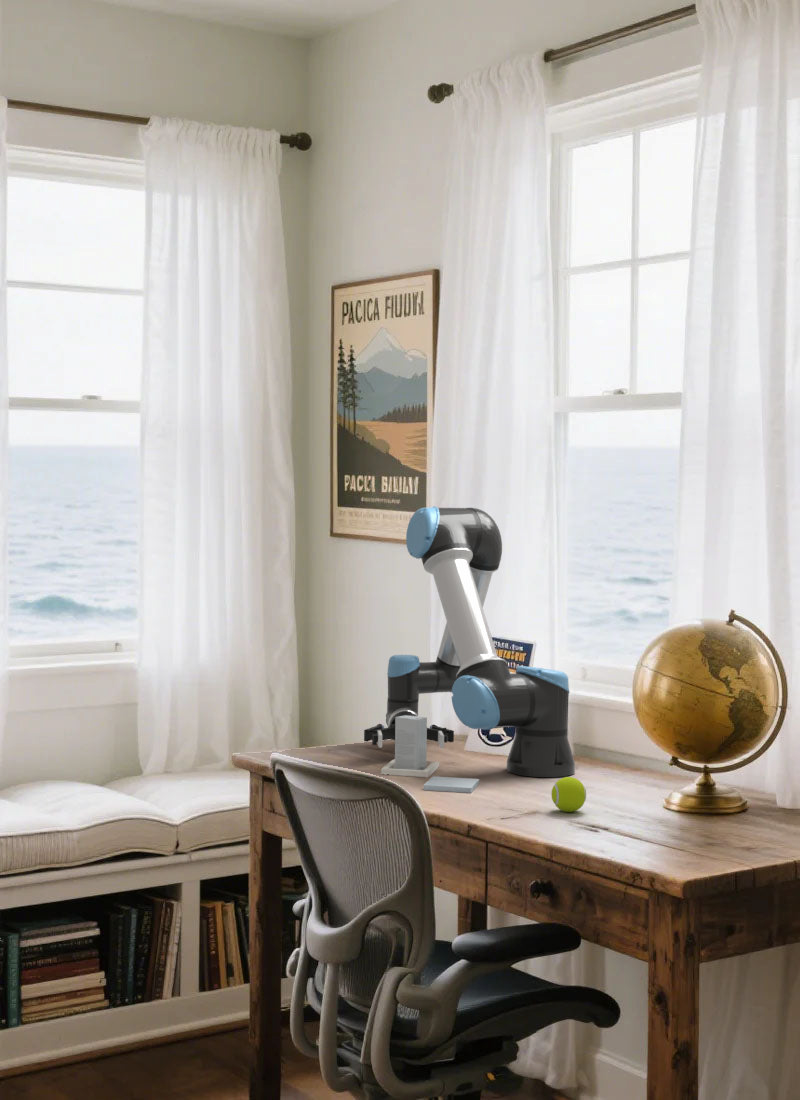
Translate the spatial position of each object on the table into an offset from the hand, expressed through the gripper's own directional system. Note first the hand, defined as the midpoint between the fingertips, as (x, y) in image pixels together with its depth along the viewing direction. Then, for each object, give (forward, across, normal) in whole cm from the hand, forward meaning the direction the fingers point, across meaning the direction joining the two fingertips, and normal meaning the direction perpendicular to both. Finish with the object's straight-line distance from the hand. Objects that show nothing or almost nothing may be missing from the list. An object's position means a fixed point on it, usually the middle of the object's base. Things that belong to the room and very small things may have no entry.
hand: (411, 741), depth 307 cm
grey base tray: (-3, 0, -7) cm, 7 cm away
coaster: (+15, -8, -7) cm, 18 cm away
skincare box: (-3, 0, -7) cm, 8 cm away
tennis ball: (+38, -28, -7) cm, 48 cm away
